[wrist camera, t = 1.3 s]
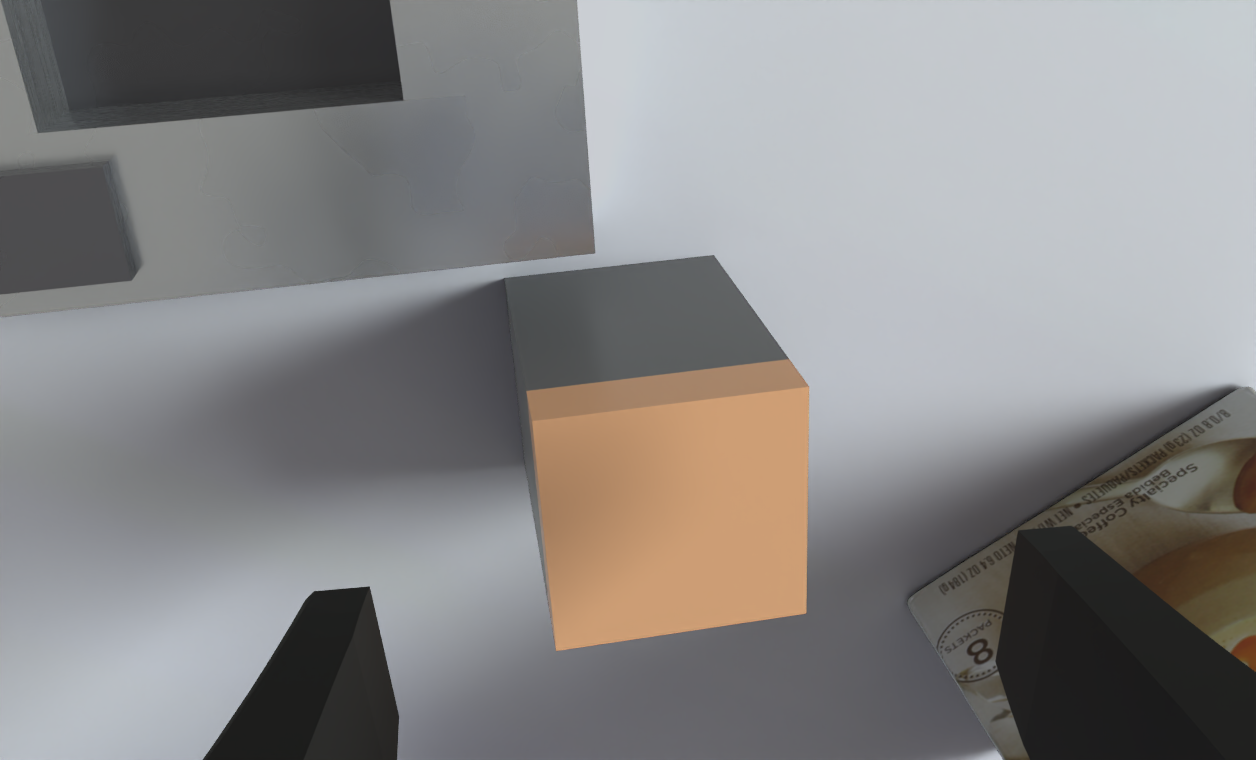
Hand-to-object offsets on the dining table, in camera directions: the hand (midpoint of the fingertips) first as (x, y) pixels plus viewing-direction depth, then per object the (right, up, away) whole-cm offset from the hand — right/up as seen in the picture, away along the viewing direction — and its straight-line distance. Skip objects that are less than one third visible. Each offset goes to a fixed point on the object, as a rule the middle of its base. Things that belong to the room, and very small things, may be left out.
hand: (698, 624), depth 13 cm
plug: (-1, +3, +10) cm, 10 cm away
